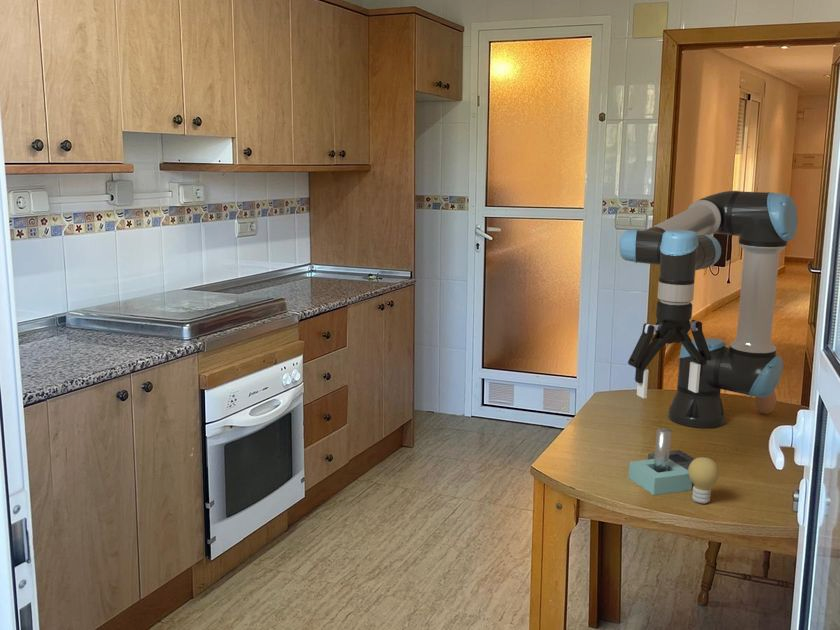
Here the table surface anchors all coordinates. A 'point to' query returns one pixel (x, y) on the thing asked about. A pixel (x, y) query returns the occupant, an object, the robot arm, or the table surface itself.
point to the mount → (677, 458)
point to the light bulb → (702, 478)
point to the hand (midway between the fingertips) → (667, 393)
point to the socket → (660, 477)
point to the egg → (766, 403)
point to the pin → (662, 450)
